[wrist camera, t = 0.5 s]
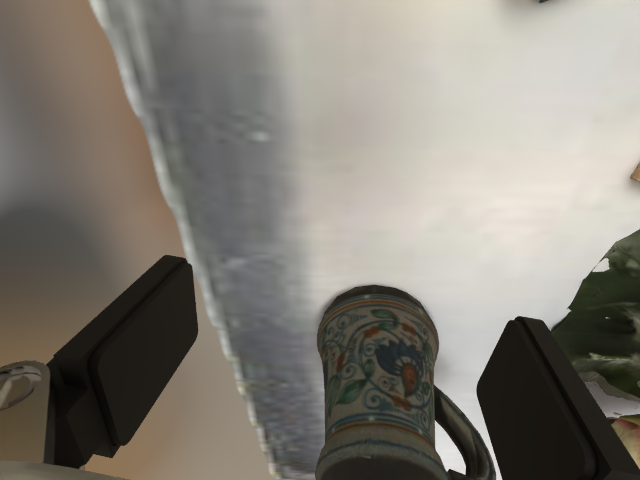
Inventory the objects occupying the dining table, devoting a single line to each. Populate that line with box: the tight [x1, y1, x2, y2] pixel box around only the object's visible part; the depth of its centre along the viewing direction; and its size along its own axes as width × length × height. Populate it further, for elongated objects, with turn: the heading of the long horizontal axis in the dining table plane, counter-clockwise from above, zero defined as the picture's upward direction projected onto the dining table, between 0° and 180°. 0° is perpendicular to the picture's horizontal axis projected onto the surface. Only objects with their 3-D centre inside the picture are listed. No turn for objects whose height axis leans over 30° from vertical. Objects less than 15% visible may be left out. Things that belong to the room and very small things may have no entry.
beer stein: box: [315, 285, 496, 480], centre depth 37 cm, size 16×19×25 cm
